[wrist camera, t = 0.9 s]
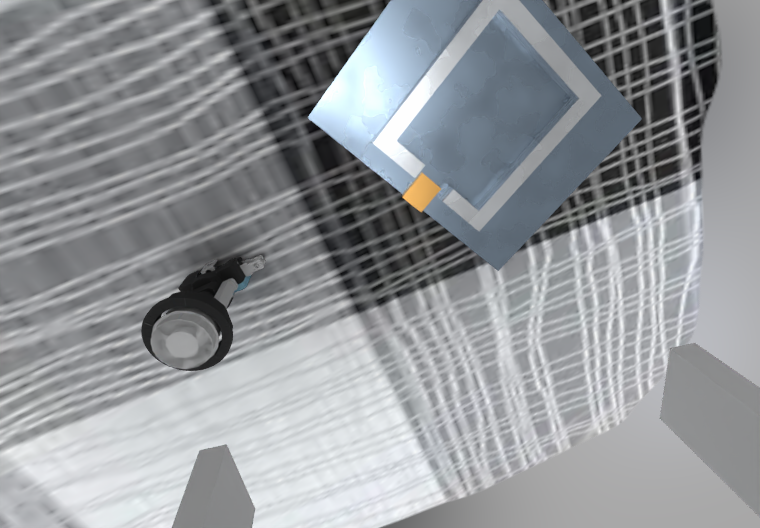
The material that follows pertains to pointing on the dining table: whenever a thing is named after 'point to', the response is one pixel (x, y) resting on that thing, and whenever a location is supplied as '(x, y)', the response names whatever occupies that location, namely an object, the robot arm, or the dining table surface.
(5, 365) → the dining table surface
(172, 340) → the push button
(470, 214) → the plate
